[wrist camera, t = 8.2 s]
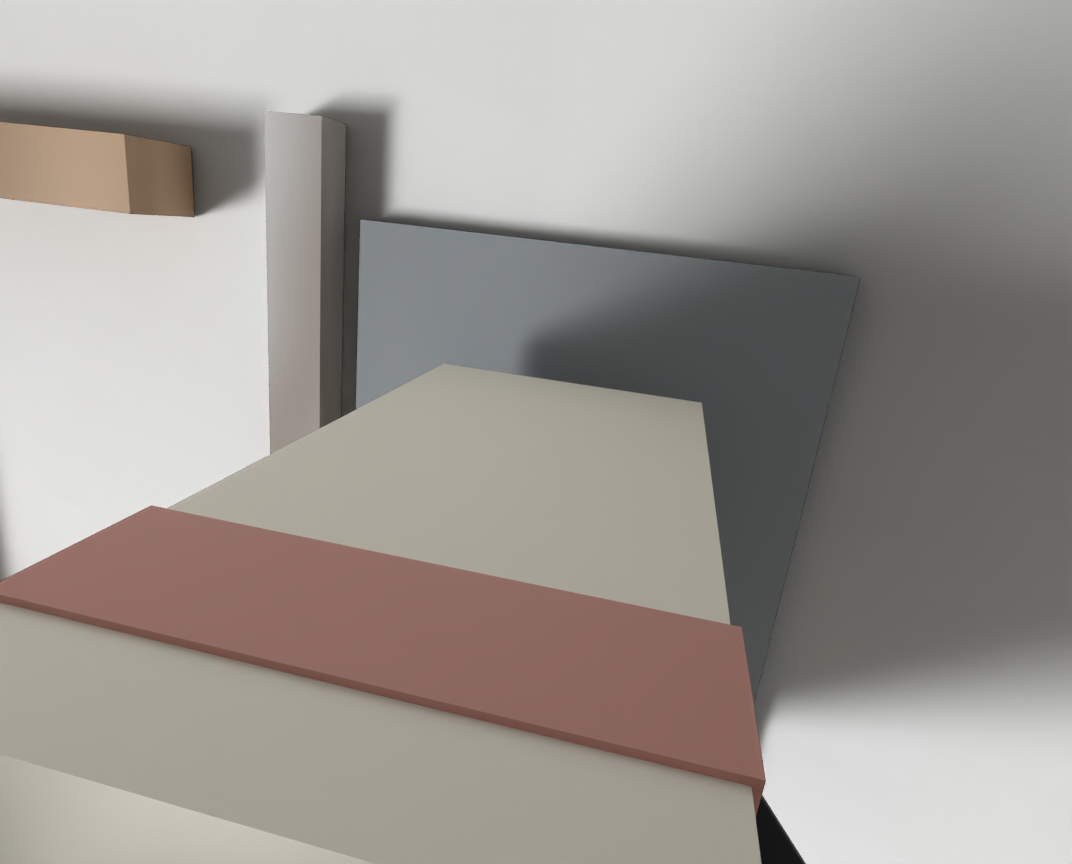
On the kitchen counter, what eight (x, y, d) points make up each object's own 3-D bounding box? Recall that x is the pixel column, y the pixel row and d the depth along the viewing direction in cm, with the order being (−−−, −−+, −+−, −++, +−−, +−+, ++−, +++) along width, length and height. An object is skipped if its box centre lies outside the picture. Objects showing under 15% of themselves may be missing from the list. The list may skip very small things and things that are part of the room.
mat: (854, 275, 10) (860, 276, 10) (718, 824, 13) (720, 840, 13) (370, 220, 11) (360, 219, 11) (356, 731, 15) (347, 743, 14)
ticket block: (705, 400, 10) (796, 975, 2) (633, 780, 12) (549, 1739, 4) (440, 360, 10) (-205, 683, 3) (418, 726, 12) (17, 1469, 5)
